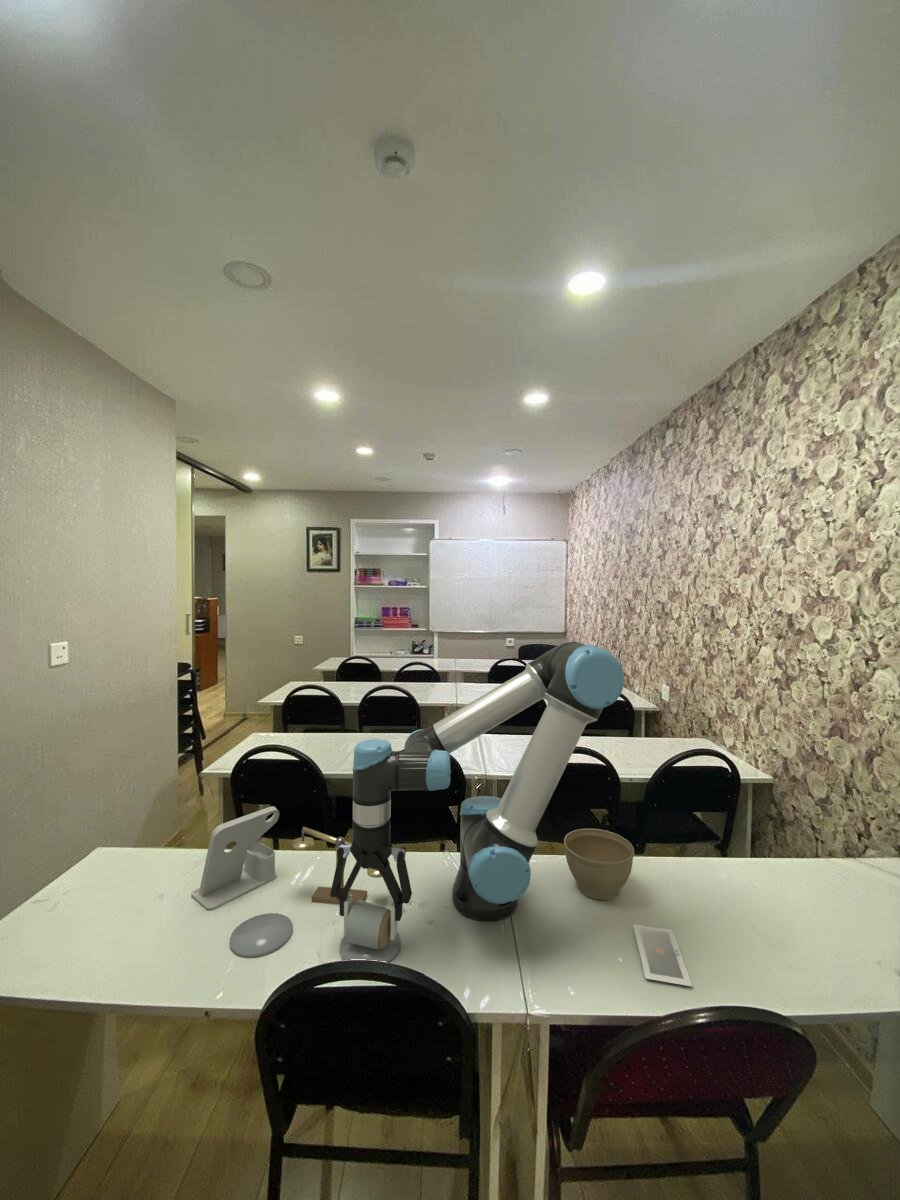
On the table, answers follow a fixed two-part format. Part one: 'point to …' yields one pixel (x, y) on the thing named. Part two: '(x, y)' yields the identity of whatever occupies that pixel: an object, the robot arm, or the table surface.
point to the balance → (324, 892)
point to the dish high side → (261, 935)
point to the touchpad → (661, 955)
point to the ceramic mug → (368, 925)
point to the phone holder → (237, 860)
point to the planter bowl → (599, 861)
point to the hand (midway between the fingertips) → (370, 933)
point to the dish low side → (370, 951)
